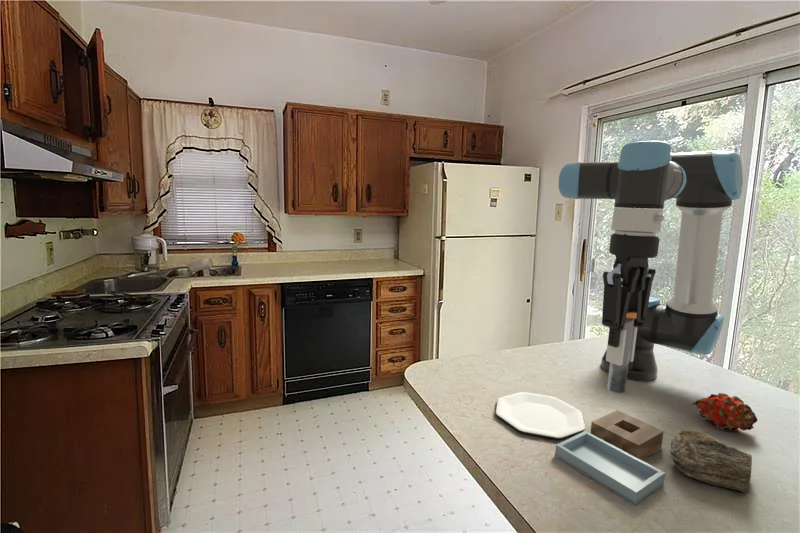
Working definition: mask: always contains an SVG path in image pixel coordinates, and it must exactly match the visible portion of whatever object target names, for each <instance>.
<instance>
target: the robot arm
mask: <svg viewBox="0 0 800 533" xmlns="http://www.w3.org/2000/svg"><path fill="white" fill-rule="evenodd" d="M621 147H622V148H621V149H620V155H619V158H618V161H616V160H615V161H589V162H581V161H578V162H573V163H572V162H571V163H567V164H565V165H563V167H562V168H561V170H560V172H559V175H558V183H557V184H558V191H559V193H560V195H561V196H562V197H563V198H566V199H575V200H614V206H613V207H614V208H613V212H612V214H613V215H612V221H611V230H612V231H614V233H612V234H611V235H610V240H609V248H608V252H609V254H610V255H613V256H615V259H614V262H613V266H612V270H611V271H604V272H603V273H602V279H603V299H602V316H601V317H602V318H601V325H603V326H604V327H608V329H609V330H608V338H607V344H606V345H607V346H606V347H607V348H606V350H605V352H604V354H603V355H602V357H601V362H600V366H601V368H602V370H604V371H606V372H607V373H609V367H610V362H611V363H613V364H616V365H619V366H621V365H622V364H623V356H624V348H625V340H626V332H627V330H624V325H625V320H626V315H627V310H633V311H635V312H637V317H636V319H634V325H633V333H632V341H631V349H630V356H629V364H628V372H627V380H632V381H643V382H644V381H645V382H646V381H652V380H653V381H654V380H655V379H656V378H657V377H658V376H657V375H658V365H657V362H656V358H655V357H656V356H655V354H654V353H655V352H654V345H658V346H662V347H666V348H669V349H670V348H671V349H675V350H678V351H683V352H686V353H687V352H688V353H689V354H696V355H703V356H707V355H710V354H711V353H712V352H713V351H714V349H715V347H716V344H717V341H718V340H719V338H720V337H719V336H720V334H721V331H722V328H723V325H724V321H725V317H724V315H722V314H720V313H718V312H719V311H718V310H719V308H718V306H717V305H716V303H715V302H714V301H713V293H714V285H715V280H716V279H715V278H716V270H717V262H718V254H719V247H720V238H721V230H722V224H723V223H722V222H723V214H724V213H725V211H727V210H728V209H730V208H731V207H732V205H733V204H732V203H733V201H736V200H739V199H741V196H742V187H743V165H742V161H741V160H742V159H741V156H740V155H739V153H737V152H736V151H734V150H733V151H732V150H705V151H704V150H703V151H690V152H672V144H670V143H669V142H667V141H663V140H641V141H640V140H639V141H630V142H628V143H626V144H624V145H623V146H621ZM671 199H675V200H676V201H675V207H676V208H678V210H680V212H681V220H680V230H679V237H678V249H677V257H676V258H677V260H676V270H675V277H674V278H675V279H674V287H673V288H674V290H673V296H672V297H671V298H669V299H668V300H666V304H661V300H660V299H659V298H658V297H654V296H653V297H652V296H651V291H652V286H653V280H654V279H655V275H656V268H650V267H649V259H654V258H657V257H658V254H659V247H660V239H661V238H660V237H659V236H658V235H656V234H659V233H660V232H661V228H662V222H663V221H665V215H663V213H664V207H665V202H666V201H668V200H671Z"/></svg>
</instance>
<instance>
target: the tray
mask: <svg viewBox="0 0 800 533" xmlns="http://www.w3.org/2000/svg"><path fill="white" fill-rule="evenodd" d="M554 457H556V458H558V459H559V460H561V462H563V463H565V464H566V465H569V466H570V467H572V468H574V469H575V470H577V472H580V473H581V474H582V475H584V476H586V477H588V478H589V479H591V480H593V481H594V482H596V483H598V484H599V485H601V486H602V487H604V488H606V489H607V490H609V491H611V492H612V493H614V494H615V495H617V496H618V497H620V498H622V499H623V500H625V501H626V502H627V503H630V504H631V505H633V506H636V505H638V504H639V503H640V502H642V501H643V500H645V499H646V498H647V497H649V496H651V494H652V495H653V493H654V492H656V491H658V489H660V488H662V487H663V486H664V484H665V479H666V478H665V477H666V472H665V471H663V470H661V469H659V468H658V467H655V466H653V465H651V464H649V463H648V462H646V461H644V460H640V459H638V458H636V457H634V456H633V455H631V454H629V453H627V452H625V451H623V450H621V449H619V448H617V447H615V446H613V445H612V444H610V443H608V442H606V441H604V440H602V439H600V438H598V437H596V436H594V435H593V434H591V433H590V432H589V431H587V430H584V431H582V432H579V433H577V434H574V435H572V436H571V437H569V438H567V439H565V440H563V441H561V442H558V443H557V444H555V451H554Z"/></svg>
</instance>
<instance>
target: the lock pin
mask: <svg viewBox="0 0 800 533" xmlns="http://www.w3.org/2000/svg"><path fill="white" fill-rule="evenodd" d="M636 317H637V312H635V311H633V310H627V315H626V320H625V325H624V330H627V332H626V340H625V348H624V356H623V364H622V365H621V366H619V365H616V364H613V363H611V362H610V367H609V372H608V377H607V383H606V388H607V390H609V391H611V392H613V393H617V394H623V393H626V387H627V380H628V379H627V372H628V364H629V356H630V349H631V341H632V333H633V325H634V319H636Z"/></svg>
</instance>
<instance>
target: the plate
mask: <svg viewBox="0 0 800 533" xmlns="http://www.w3.org/2000/svg"><path fill="white" fill-rule="evenodd" d="M495 415H496V416H497V417H498V418H500V419H501V420H502V421H504V422H505V423H506V424H508V425H509V426H511V427H512V428H514V429H515V430H517V432H520V433H522V434H528V435H533V436H539V437H544V438H549V439H556V440H562V439H565V438H568V437H570V436H571V437H572V436H575V435H578V434H580V433H582V432H584V431H586V425H585V421H584V417H583V413H582V411H581V410H580V409H577V407H574V406H572V405H570V404H568V403H567V402H566V401H563V400H561V399H560V398H558V397H556V396H553V395H552V396H550V395H544V394H538V393H534V392H533V393H532V392H526V391H520V392H516V393H512V394H508V395H505V396H501V397H499V398H498V399H497V401H496V409H495Z"/></svg>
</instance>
